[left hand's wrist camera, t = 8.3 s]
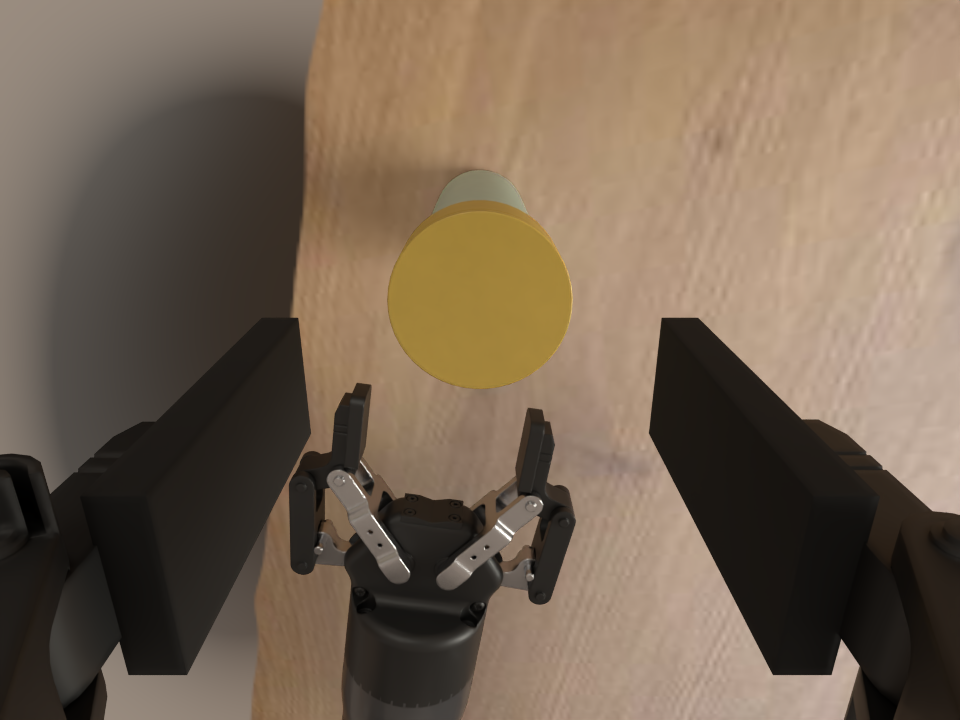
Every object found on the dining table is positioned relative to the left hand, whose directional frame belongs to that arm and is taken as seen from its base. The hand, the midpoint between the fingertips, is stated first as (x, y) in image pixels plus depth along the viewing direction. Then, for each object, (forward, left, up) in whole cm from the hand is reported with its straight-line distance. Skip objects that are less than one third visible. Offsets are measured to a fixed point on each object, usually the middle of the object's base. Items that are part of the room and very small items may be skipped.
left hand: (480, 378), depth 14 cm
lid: (0, 0, -6) cm, 6 cm away
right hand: (+8, +1, -15) cm, 17 cm away
